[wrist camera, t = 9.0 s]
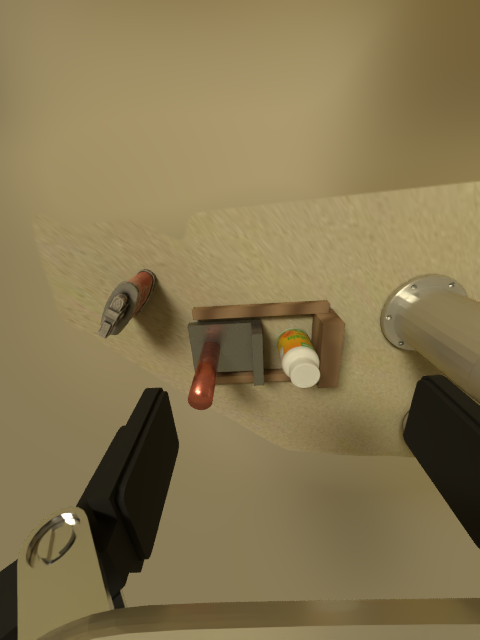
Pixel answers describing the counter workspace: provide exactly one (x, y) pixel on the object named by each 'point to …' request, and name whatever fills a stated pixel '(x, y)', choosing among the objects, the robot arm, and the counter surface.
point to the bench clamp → (323, 340)
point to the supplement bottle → (298, 357)
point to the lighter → (126, 302)
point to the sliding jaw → (223, 355)
